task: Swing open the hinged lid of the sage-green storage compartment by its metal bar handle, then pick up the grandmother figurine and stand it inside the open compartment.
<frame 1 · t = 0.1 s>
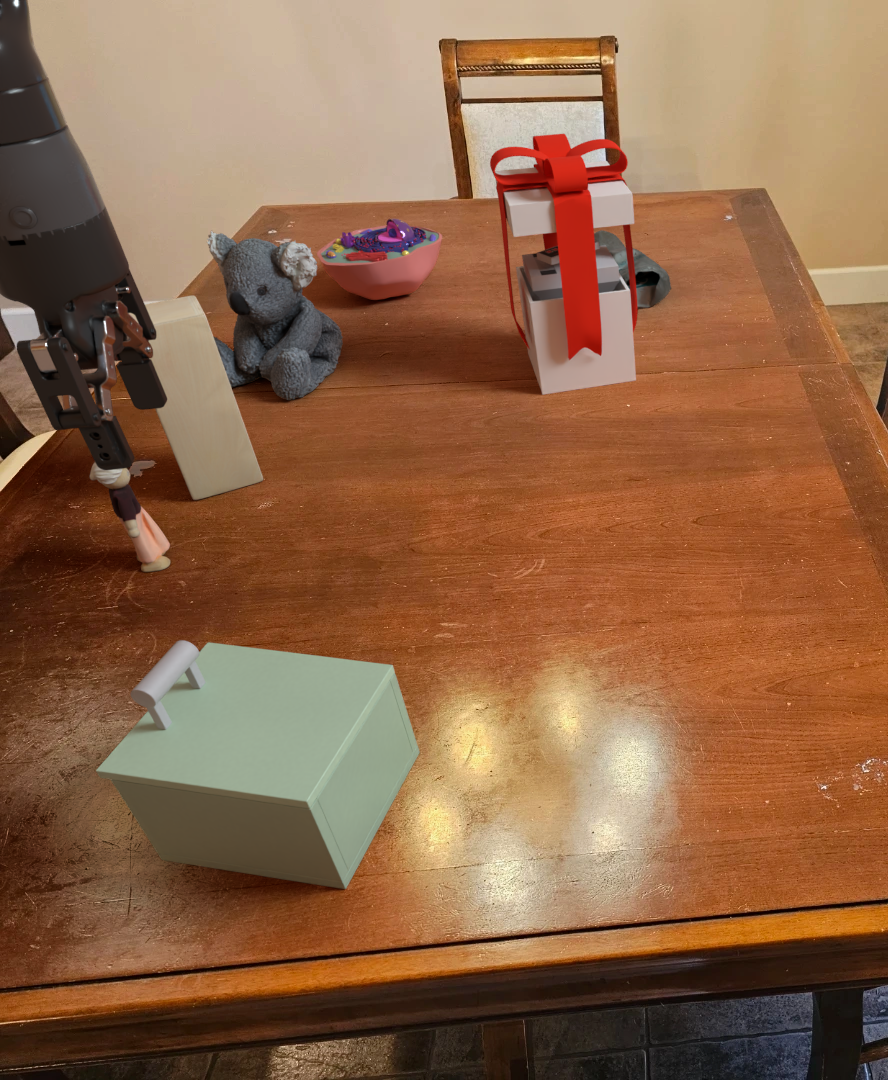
hand: (136, 435, 67), 26 cm above the table, tool pointing down, fingers open, 8 cm apart
grandmother figurine: (154, 559, 98), on the table
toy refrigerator: (225, 478, 110), on the table
lid: (245, 698, 66), point 12 cm above the table, hinge at 0.0°
compartment: (297, 803, 73), on the table
koala plush: (290, 370, 133), on the table
white gift box: (580, 368, 133), on the table
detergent: (620, 286, 157), on the table
cell model: (391, 293, 155), on the table
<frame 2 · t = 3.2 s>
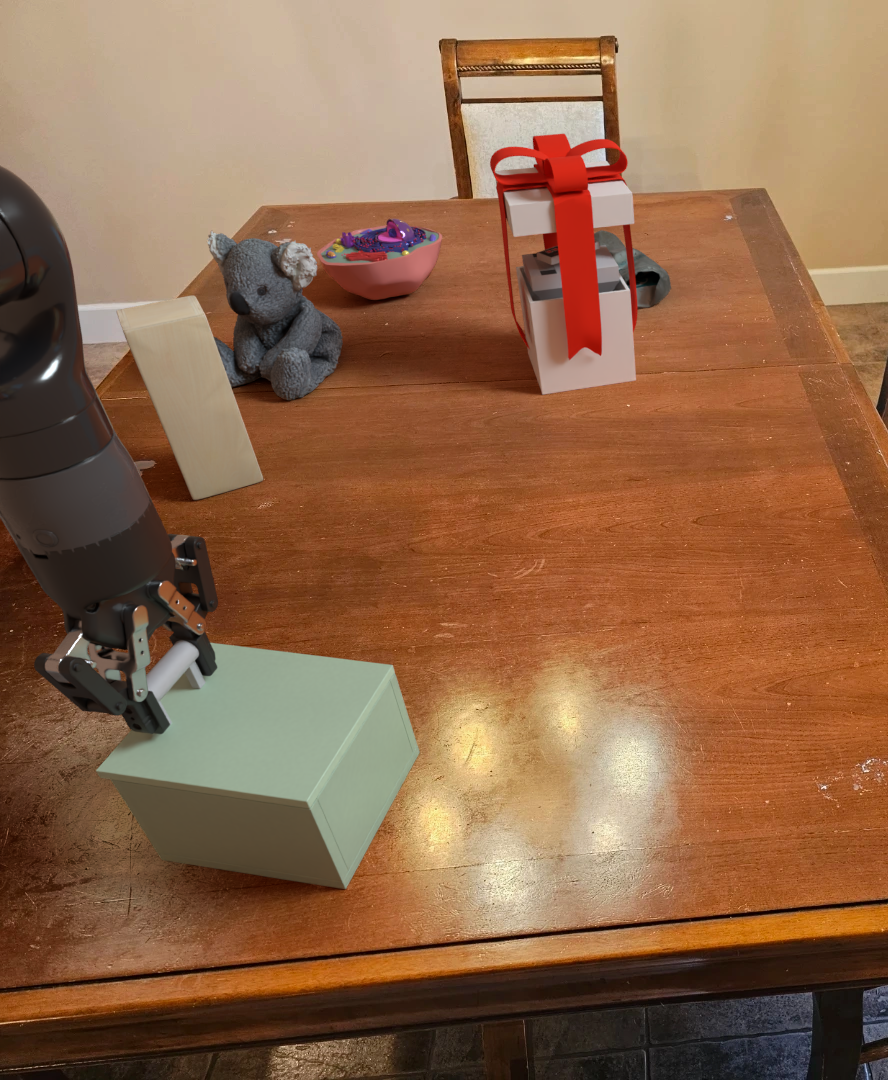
hand: (179, 699, 67), 11 cm above the table, tool pointing down, fingers closed on lid, 5 cm apart
lid: (245, 698, 66), point 12 cm above the table, hinge at 0.0°, touching gripper
everything else where it was.
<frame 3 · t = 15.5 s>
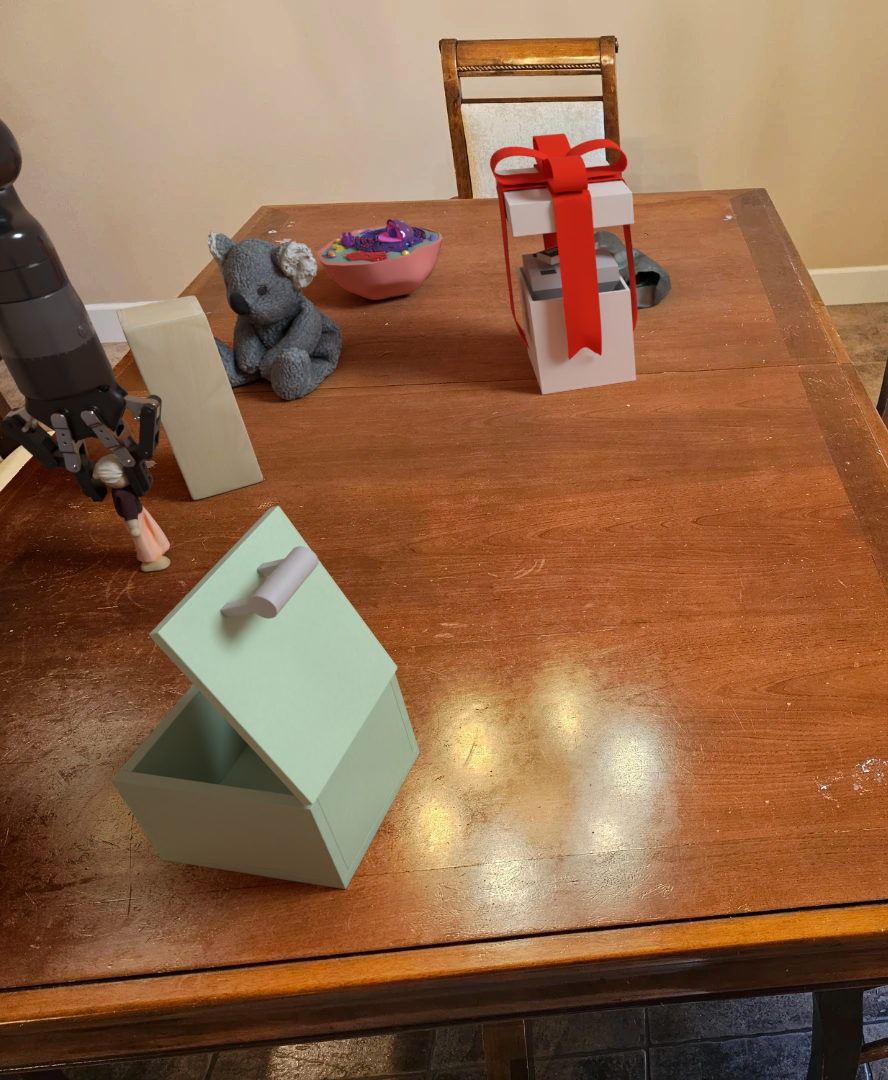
hand: (122, 494, 93), 8 cm above the table, tool pointing down, fingers closed on grandmother figurine, 3 cm apart
grandmother figurine: (153, 558, 98), on the table, touching gripper
lid: (315, 649, 61), point 18 cm above the table, hinge at 70.3°
everything else where it was.
when the fingers open (9 cm above the table, at t = 24.9 s): grandmother figurine stays where it is, resting on compartment.
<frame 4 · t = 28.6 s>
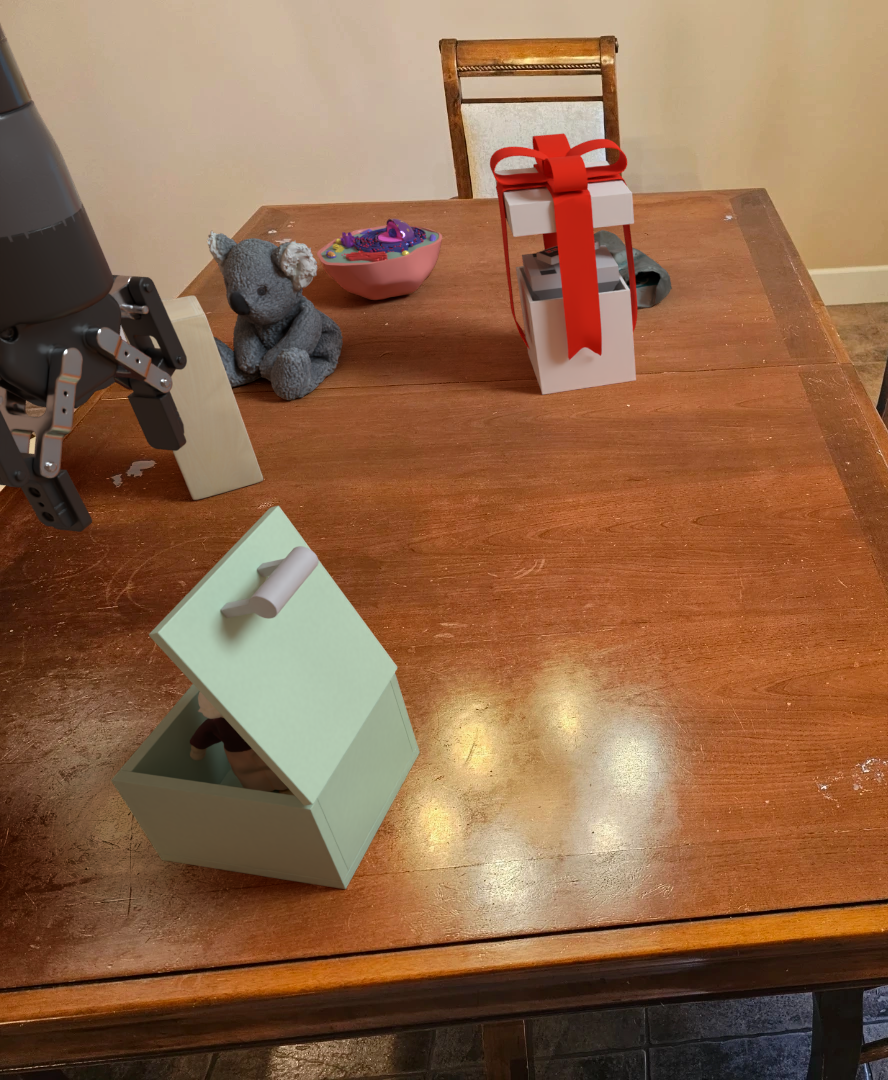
hand: (124, 484, 55), 30 cm above the table, tool pointing down, fingers open, 8 cm apart
grandmother figurine: (270, 792, 73), point 1 cm above the table, touching compartment
everything else where it was.
at the end: lid at +70° (first picture: +0°); grandmother figurine inside the target area in the compartment (2.2 cm from its centre), point 0.7 cm above the compartment's base; grandmother figurine tilted 0° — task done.
